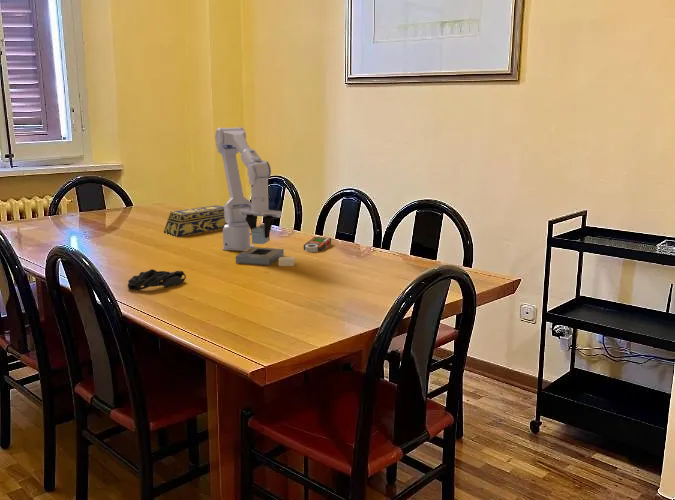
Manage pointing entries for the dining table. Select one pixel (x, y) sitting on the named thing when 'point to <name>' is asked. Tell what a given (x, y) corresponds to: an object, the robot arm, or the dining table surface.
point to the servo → (259, 235)
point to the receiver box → (286, 261)
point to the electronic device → (317, 244)
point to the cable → (156, 279)
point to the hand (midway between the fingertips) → (260, 236)
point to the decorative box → (195, 220)
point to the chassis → (259, 256)
